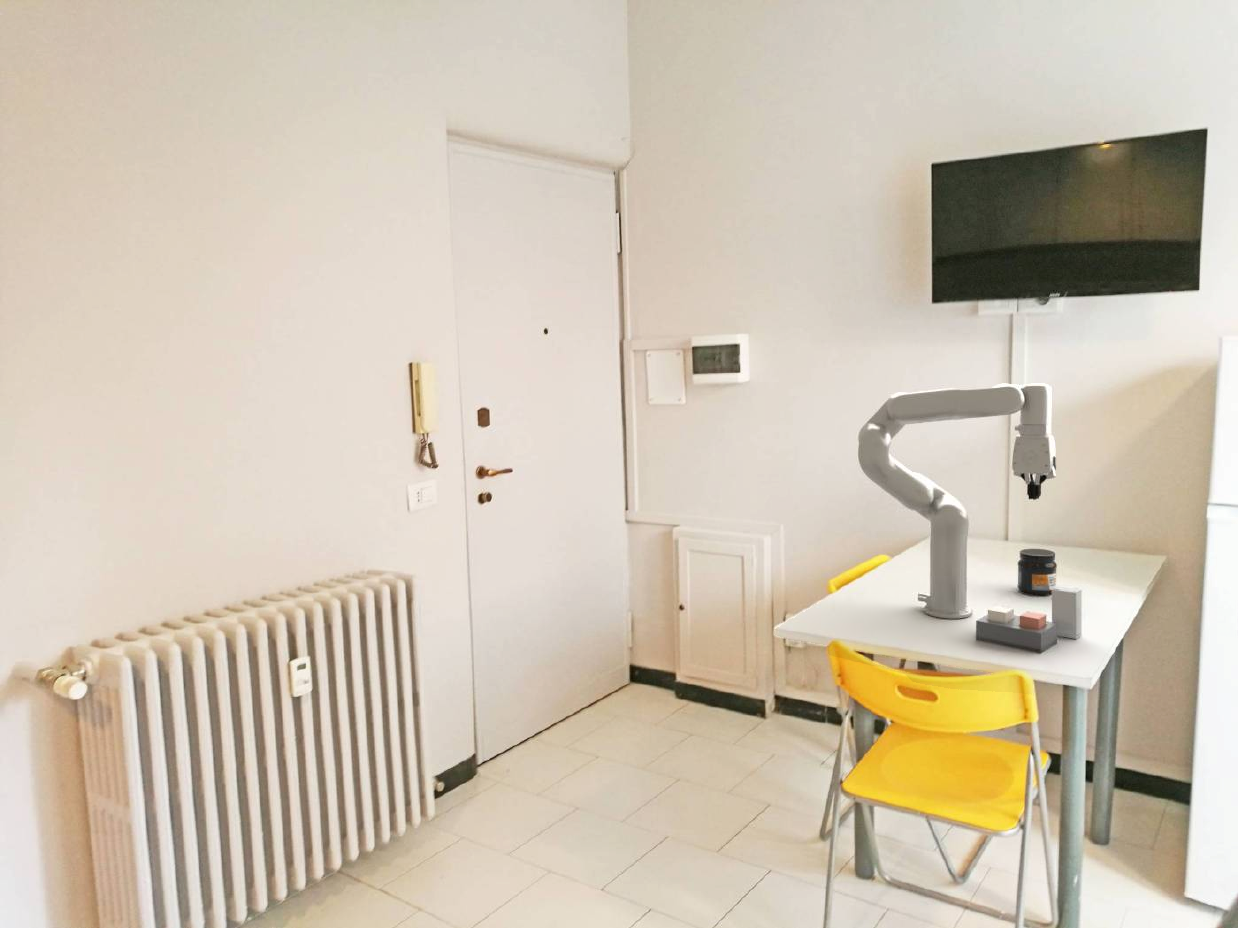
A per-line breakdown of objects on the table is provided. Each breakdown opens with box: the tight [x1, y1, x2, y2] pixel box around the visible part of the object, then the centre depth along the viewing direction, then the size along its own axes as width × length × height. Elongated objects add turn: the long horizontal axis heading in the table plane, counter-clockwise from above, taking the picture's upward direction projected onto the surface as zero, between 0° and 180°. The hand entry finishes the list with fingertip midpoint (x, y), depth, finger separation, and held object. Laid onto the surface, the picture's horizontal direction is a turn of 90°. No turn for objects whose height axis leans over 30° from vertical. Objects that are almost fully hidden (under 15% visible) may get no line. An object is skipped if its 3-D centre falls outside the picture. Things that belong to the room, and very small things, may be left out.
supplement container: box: [1016, 548, 1058, 597], centre depth 270 cm, size 10×10×12 cm
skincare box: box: [1051, 585, 1083, 640], centre depth 231 cm, size 6×4×12 cm
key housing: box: [975, 614, 1058, 654], centre depth 229 cm, size 16×10×5 cm, turn 44°
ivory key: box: [987, 605, 1015, 623], centre depth 231 cm, size 5×5×4 cm
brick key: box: [1019, 611, 1047, 630], centre depth 226 cm, size 5×5×4 cm
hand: (1033, 498), depth 246 cm, fingers closed
